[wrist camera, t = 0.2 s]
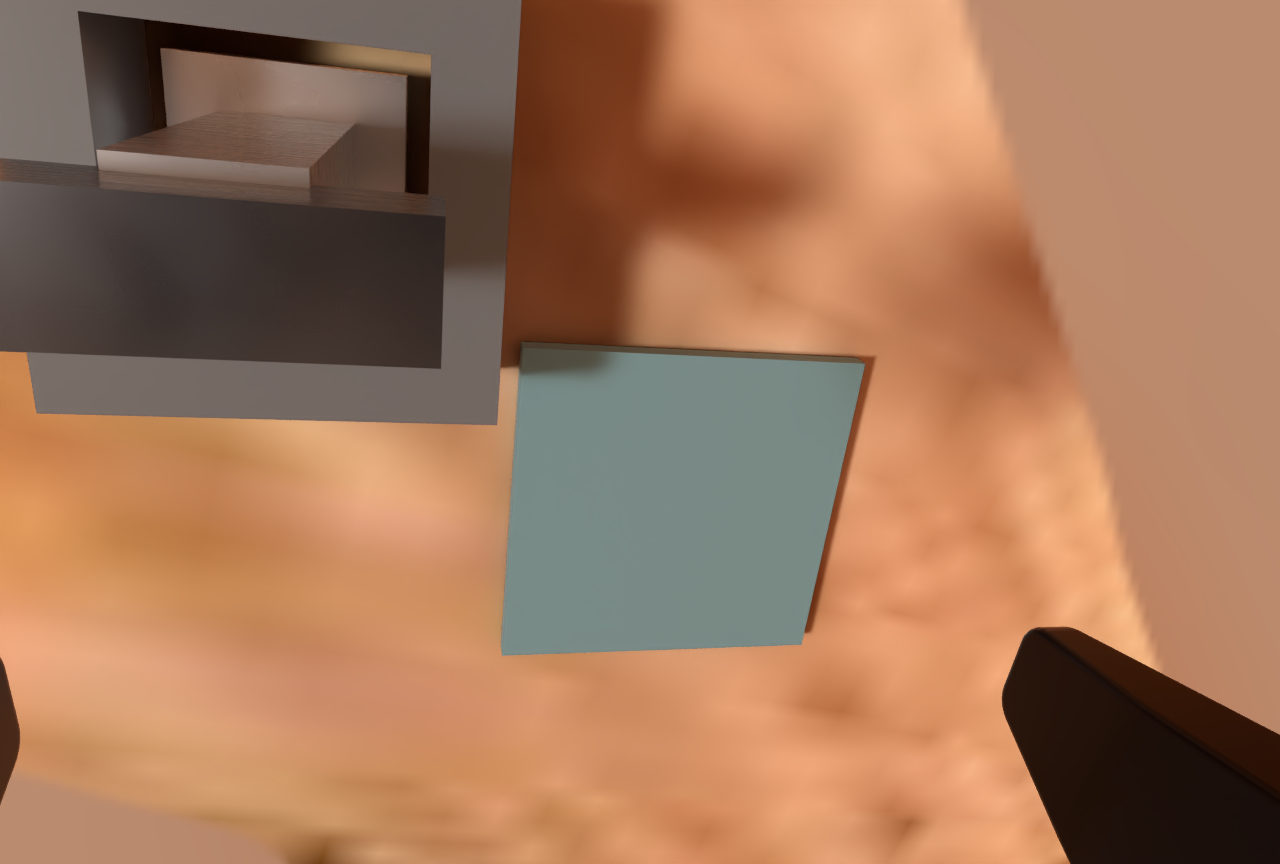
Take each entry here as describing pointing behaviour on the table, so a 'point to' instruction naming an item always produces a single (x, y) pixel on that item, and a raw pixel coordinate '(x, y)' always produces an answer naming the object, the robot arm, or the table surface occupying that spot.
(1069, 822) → the robot arm
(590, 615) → the key mat
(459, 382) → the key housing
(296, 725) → the table surface
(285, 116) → the t key
